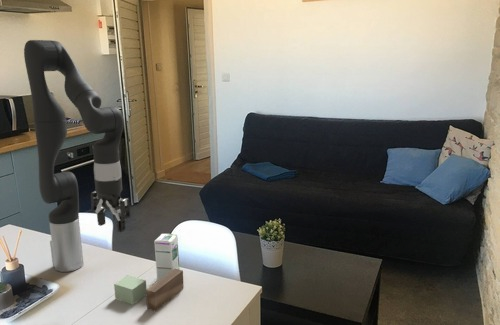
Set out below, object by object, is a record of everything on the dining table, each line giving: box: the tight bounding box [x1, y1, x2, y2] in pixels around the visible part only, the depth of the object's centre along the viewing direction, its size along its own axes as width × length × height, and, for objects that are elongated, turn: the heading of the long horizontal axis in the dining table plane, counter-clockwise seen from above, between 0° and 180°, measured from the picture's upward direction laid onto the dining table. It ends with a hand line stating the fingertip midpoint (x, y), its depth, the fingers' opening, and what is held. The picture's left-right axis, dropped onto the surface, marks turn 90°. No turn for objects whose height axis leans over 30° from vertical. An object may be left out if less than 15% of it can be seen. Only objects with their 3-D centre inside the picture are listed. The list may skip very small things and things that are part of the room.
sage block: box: [113, 274, 148, 305], centre depth 129 cm, size 7×6×5 cm
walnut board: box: [145, 268, 185, 312], centre depth 128 cm, size 3×14×6 cm, turn 154°
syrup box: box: [153, 233, 180, 282], centre depth 138 cm, size 6×6×14 cm
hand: (111, 228), depth 128 cm, fingers open, 8 cm apart
